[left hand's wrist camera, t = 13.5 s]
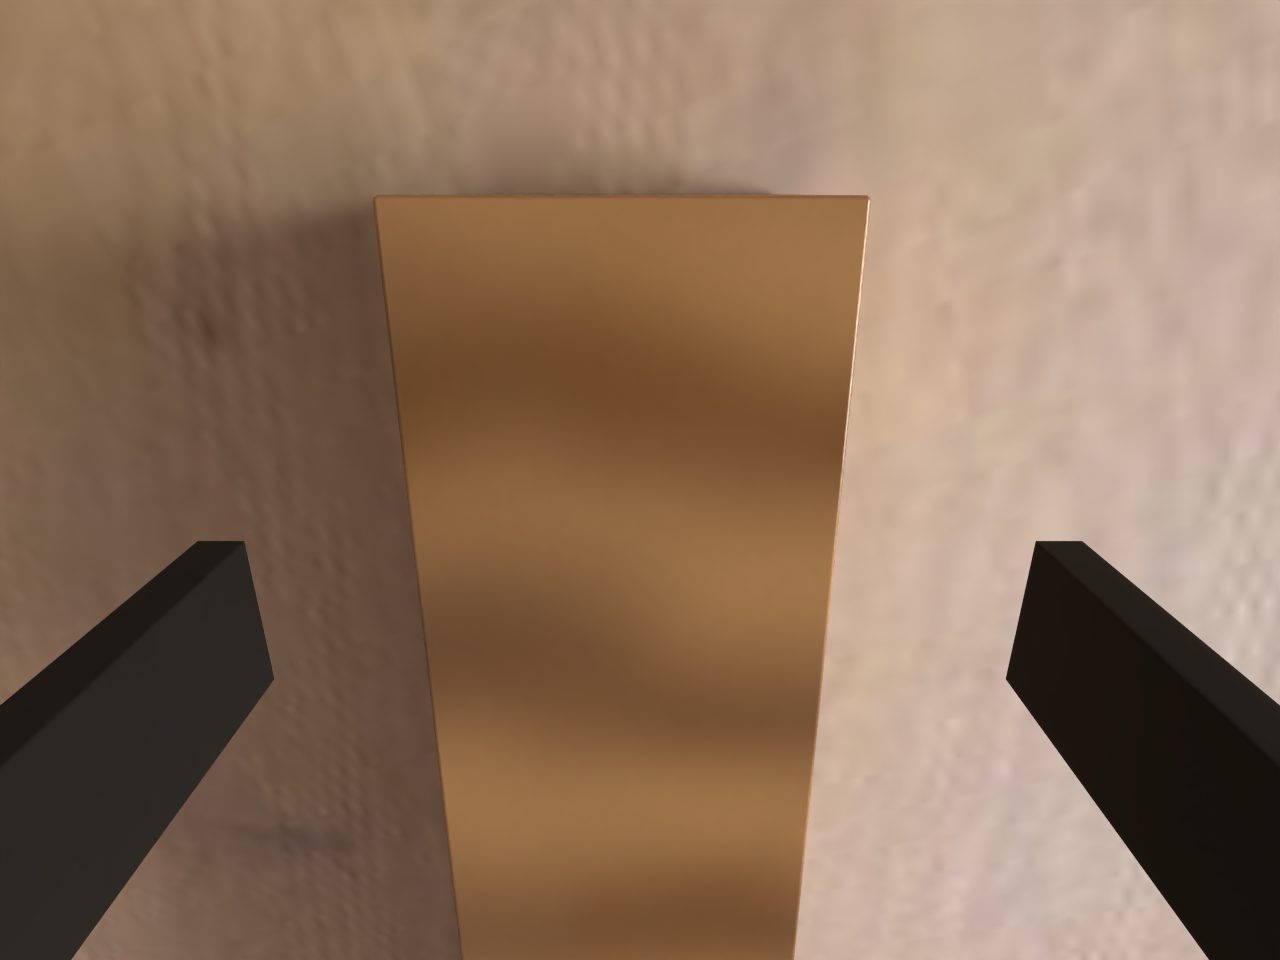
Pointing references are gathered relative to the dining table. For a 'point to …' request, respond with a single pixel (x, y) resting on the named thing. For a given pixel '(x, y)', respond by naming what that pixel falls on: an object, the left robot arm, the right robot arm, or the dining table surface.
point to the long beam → (624, 551)
